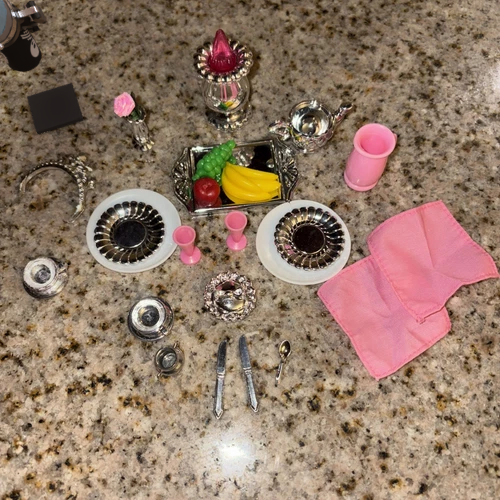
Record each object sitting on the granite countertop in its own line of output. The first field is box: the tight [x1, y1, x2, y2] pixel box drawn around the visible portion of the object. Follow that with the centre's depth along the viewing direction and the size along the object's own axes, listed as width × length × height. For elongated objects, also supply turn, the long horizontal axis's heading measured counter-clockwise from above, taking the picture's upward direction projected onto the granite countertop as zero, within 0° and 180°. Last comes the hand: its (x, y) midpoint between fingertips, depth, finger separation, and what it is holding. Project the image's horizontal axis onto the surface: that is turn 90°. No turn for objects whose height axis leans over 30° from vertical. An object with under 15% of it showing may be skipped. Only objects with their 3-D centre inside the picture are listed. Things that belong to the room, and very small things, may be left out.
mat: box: [26, 82, 84, 135], centre depth 106 cm, size 10×10×1 cm
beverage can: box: [0, 0, 43, 73], centre depth 88 cm, size 7×7×12 cm
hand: (11, 31), depth 91 cm, fingers closed on beverage can, 6 cm apart
